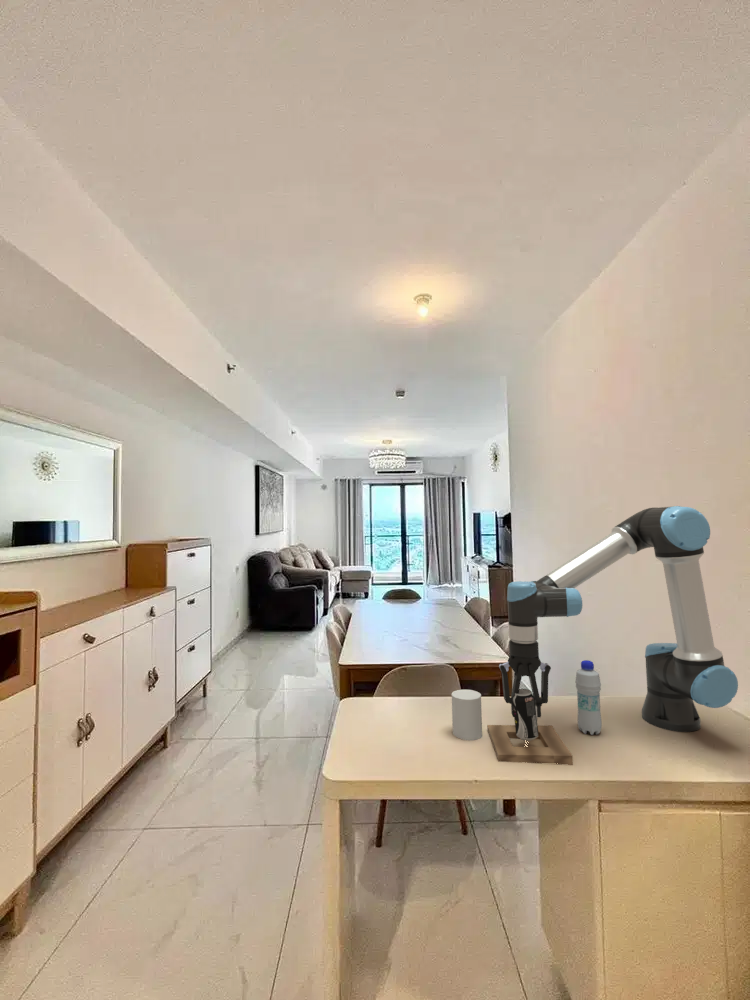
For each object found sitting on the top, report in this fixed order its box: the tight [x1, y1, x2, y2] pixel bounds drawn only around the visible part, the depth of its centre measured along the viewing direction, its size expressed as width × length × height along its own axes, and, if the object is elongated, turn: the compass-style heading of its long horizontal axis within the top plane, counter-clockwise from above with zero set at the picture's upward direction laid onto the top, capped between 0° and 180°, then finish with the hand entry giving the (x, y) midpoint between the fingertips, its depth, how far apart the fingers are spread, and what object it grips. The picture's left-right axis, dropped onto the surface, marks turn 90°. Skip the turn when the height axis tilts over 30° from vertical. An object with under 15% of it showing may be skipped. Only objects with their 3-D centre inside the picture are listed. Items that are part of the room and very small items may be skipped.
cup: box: [451, 689, 483, 741], centre depth 138 cm, size 8×8×12 cm
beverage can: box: [512, 688, 539, 741], centre depth 130 cm, size 6×6×12 cm
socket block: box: [486, 724, 574, 766], centre depth 130 cm, size 18×18×2 cm
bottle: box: [575, 659, 603, 736], centre depth 140 cm, size 7×7×20 cm
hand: (526, 729), depth 131 cm, fingers closed on beverage can, 4 cm apart
